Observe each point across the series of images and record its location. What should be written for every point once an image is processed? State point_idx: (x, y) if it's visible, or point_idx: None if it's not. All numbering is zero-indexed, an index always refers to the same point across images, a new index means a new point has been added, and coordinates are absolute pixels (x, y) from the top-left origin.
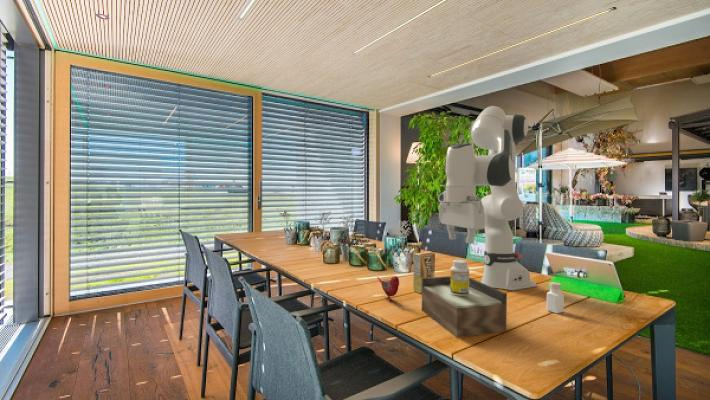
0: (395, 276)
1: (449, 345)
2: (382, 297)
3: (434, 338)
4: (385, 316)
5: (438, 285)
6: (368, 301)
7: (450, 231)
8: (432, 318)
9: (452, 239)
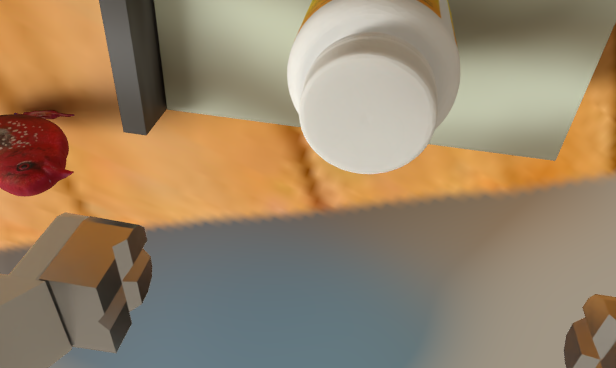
0: (20, 194)
1: (563, 153)
2: None
3: (484, 164)
4: (232, 207)
5: (163, 18)
6: (58, 190)
7: (25, 364)
8: None
9: (150, 264)
